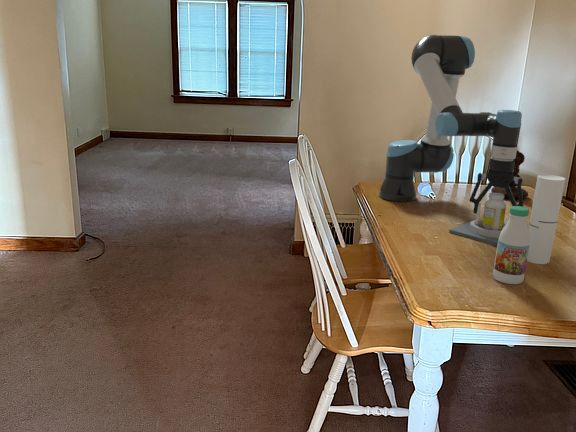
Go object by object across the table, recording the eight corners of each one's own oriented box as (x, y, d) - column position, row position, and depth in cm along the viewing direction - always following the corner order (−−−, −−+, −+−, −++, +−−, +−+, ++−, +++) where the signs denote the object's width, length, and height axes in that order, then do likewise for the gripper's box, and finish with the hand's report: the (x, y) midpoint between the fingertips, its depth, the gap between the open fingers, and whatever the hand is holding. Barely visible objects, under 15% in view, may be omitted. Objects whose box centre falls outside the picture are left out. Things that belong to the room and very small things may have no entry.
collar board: (448, 232, 178) (450, 223, 177) (477, 221, 191) (478, 213, 190) (506, 248, 164) (507, 239, 163) (533, 235, 177) (534, 227, 176)
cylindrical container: (547, 266, 151) (564, 181, 144) (521, 260, 155) (535, 177, 147) (550, 258, 157) (566, 176, 150) (525, 253, 161) (539, 173, 153)
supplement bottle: (499, 228, 180) (504, 192, 176) (504, 234, 174) (510, 197, 170) (479, 227, 181) (484, 191, 177) (483, 233, 174) (489, 196, 171)
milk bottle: (487, 273, 145) (498, 203, 139) (514, 273, 145) (526, 203, 139) (500, 285, 137) (512, 212, 131) (528, 285, 138) (542, 212, 132)
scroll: (487, 191, 235) (494, 146, 229) (521, 193, 233) (529, 148, 227) (495, 199, 221) (502, 152, 215) (531, 202, 219) (540, 154, 213)
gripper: (466, 157, 171) (457, 223, 177) (540, 164, 162) (528, 233, 169) (468, 153, 177) (459, 217, 184) (539, 160, 169) (528, 226, 176)
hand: (492, 224), depth 176 cm, fingers open, 9 cm apart
